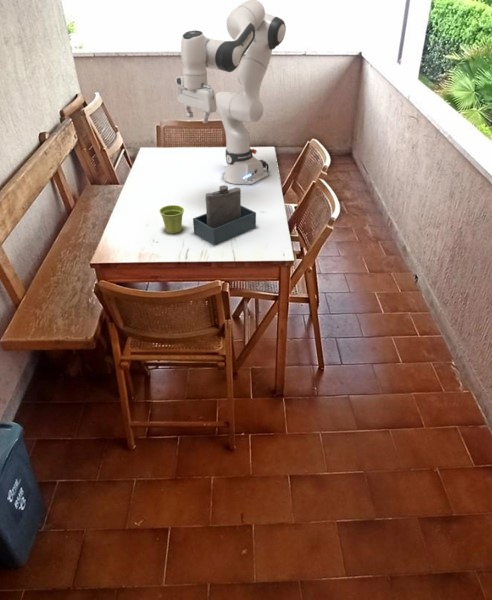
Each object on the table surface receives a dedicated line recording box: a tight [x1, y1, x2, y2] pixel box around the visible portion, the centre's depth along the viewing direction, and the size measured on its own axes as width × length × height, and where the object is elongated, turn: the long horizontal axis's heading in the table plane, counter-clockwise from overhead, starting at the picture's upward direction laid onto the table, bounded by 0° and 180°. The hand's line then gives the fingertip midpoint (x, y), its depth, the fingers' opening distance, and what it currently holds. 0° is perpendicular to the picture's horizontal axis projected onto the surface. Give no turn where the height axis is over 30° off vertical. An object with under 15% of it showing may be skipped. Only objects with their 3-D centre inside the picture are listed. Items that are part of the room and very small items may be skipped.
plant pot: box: [158, 204, 185, 234], centre depth 190 cm, size 9×9×9 cm
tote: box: [192, 205, 257, 246], centre depth 191 cm, size 22×13×7 cm, turn 133°
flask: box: [205, 184, 242, 228], centre depth 187 cm, size 4×14×18 cm, turn 118°
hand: (197, 119), depth 187 cm, fingers open, 8 cm apart
